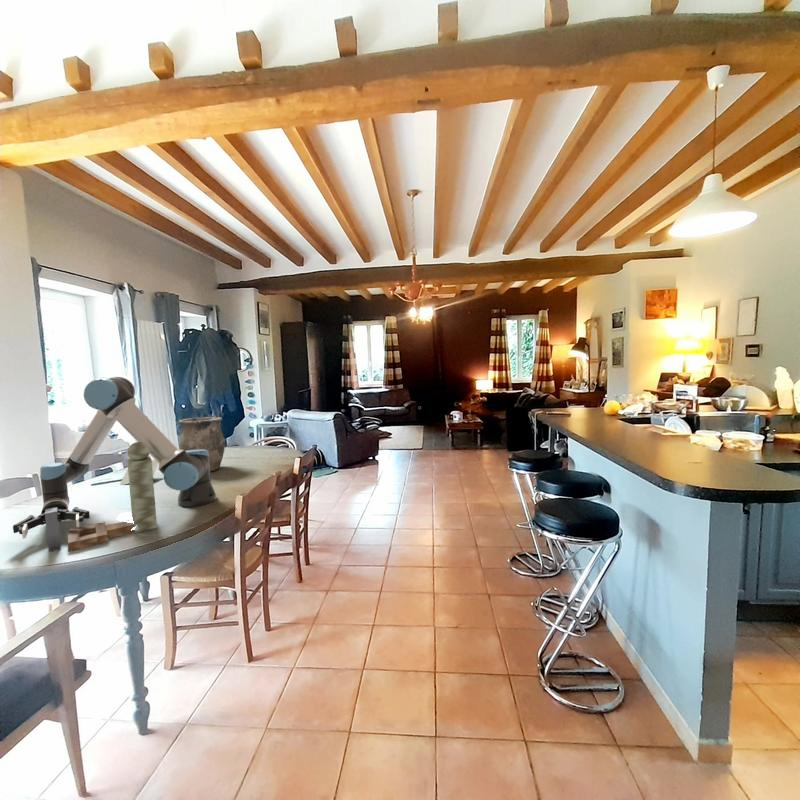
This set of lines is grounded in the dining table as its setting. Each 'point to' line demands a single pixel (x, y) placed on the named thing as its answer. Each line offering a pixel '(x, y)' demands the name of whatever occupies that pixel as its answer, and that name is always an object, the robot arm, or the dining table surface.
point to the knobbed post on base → (140, 504)
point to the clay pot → (203, 438)
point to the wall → (126, 476)
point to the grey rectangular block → (53, 529)
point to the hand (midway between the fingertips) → (51, 528)
